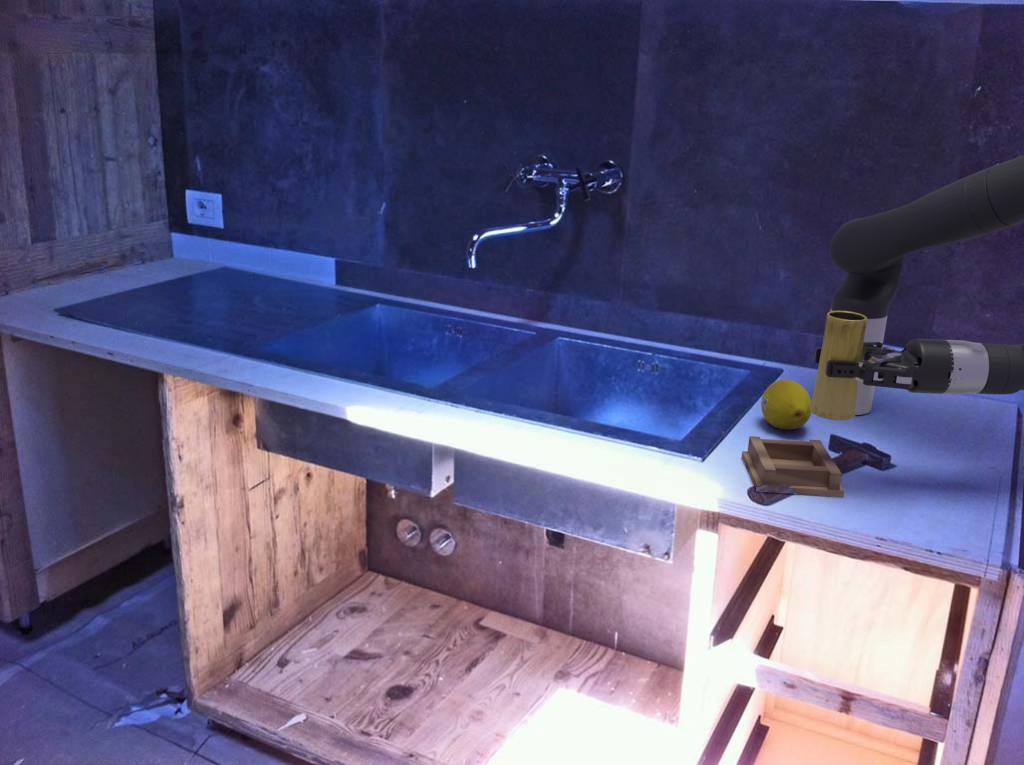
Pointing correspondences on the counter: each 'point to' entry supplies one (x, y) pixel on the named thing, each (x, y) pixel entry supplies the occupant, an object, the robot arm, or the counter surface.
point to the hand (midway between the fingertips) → (821, 361)
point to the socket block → (793, 466)
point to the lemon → (786, 405)
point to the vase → (839, 344)
